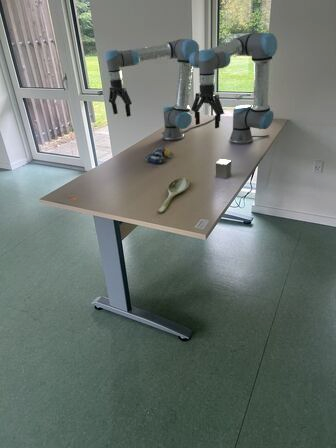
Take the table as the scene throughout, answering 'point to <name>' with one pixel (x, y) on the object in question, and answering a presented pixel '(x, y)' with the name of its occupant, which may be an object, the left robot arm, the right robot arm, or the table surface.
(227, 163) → the grey metal block
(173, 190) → the spoon
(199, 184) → the table surface
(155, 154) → the blue toy gun
